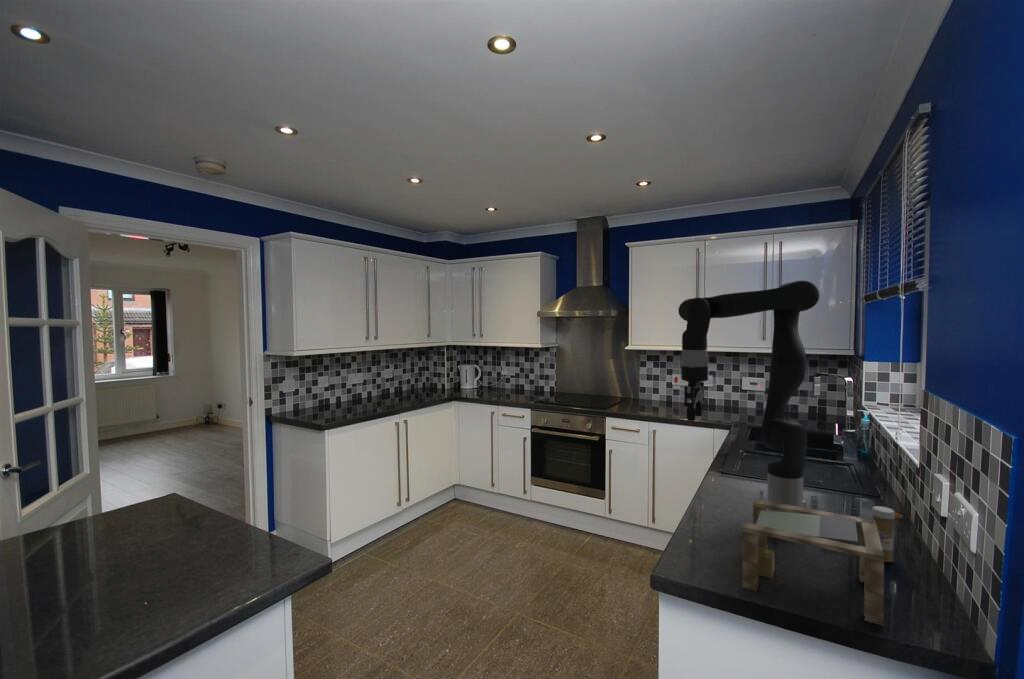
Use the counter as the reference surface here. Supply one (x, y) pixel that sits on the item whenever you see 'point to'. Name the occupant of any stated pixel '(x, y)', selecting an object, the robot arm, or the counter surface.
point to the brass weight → (766, 562)
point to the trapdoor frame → (868, 548)
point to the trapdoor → (812, 526)
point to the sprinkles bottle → (885, 530)
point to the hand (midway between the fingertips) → (694, 418)
